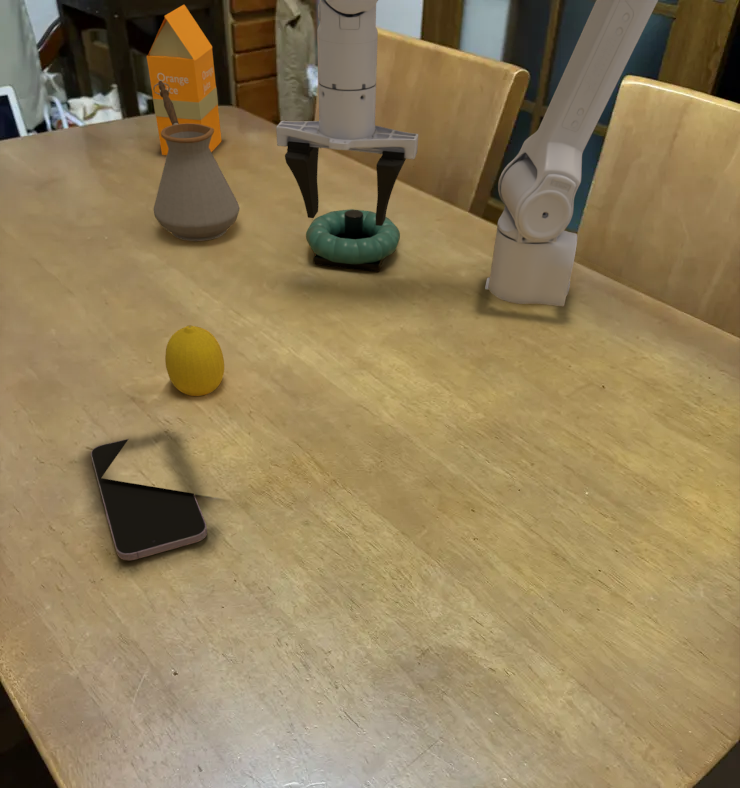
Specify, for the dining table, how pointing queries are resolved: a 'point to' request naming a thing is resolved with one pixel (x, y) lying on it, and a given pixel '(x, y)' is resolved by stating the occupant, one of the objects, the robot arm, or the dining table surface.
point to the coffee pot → (192, 182)
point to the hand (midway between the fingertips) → (346, 218)
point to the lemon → (194, 361)
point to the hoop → (352, 249)
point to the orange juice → (184, 75)
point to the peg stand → (351, 231)
